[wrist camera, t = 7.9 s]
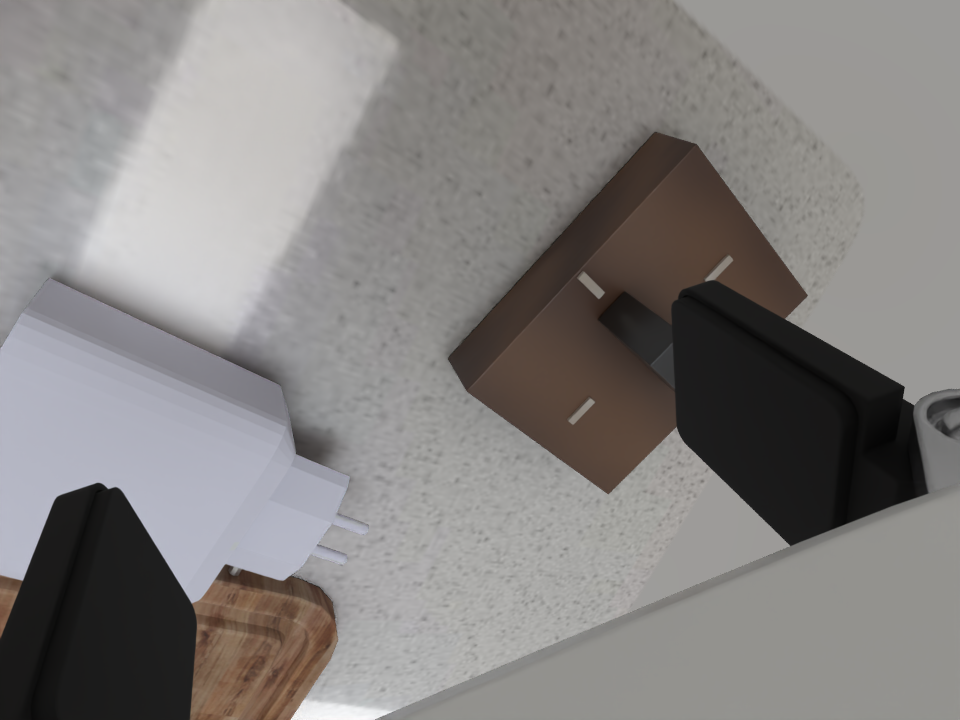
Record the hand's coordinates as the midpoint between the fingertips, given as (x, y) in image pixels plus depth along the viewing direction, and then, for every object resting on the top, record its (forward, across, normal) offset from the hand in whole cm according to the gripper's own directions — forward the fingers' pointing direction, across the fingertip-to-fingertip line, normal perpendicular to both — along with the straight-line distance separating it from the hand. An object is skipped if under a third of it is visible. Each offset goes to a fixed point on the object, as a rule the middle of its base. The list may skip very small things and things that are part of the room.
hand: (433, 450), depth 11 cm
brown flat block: (+16, -11, +8) cm, 22 cm away
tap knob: (+13, -11, +8) cm, 19 cm away
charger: (+16, +8, +8) cm, 20 cm away
